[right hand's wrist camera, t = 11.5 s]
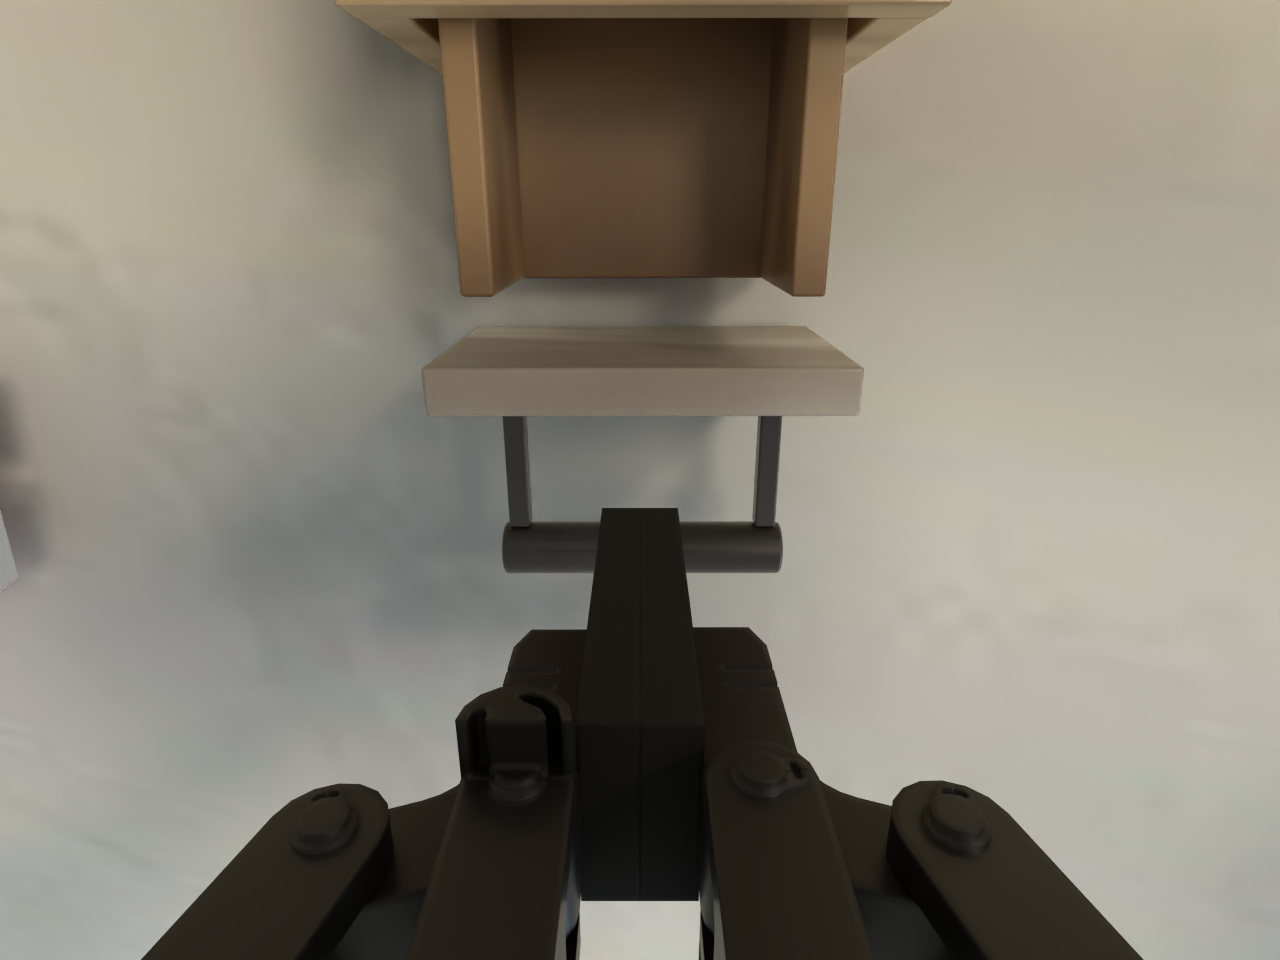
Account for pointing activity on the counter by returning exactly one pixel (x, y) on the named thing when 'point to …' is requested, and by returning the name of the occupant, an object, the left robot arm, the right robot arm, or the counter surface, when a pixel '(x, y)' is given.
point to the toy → (6, 560)
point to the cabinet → (412, 3)
